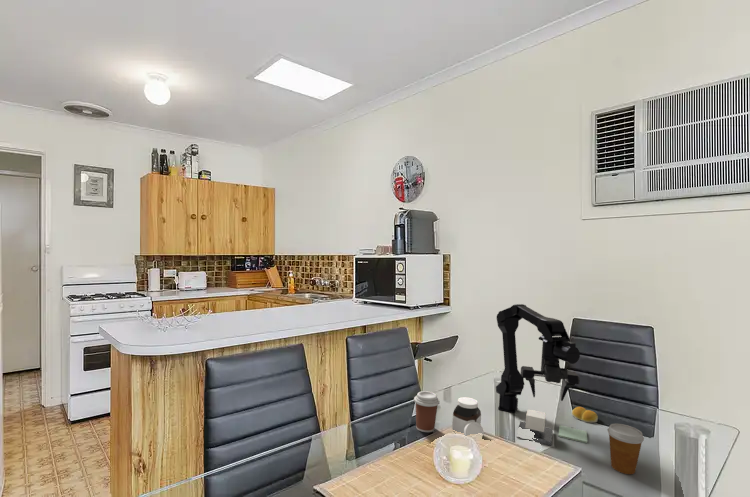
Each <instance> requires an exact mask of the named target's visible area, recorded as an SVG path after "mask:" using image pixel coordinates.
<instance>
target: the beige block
mask: <svg viewBox="0 0 750 497" xmlns="http://www.w3.org/2000/svg"><path fill="white" fill-rule="evenodd" d="M546 416H547V414H546V412H544V411H538V410H535V409H529V408H527V411H526V415H525V423H526V426H525V428H528V429H532V430H536V431H541V432H544V429H545V427H546V420H547V419H546Z"/></svg>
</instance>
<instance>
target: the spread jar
mask: <svg viewBox="0 0 750 497" xmlns="http://www.w3.org/2000/svg"><path fill="white" fill-rule="evenodd" d="M478 406H479V401H478V400H476V399H474V398H472V397H465V396H463V397H459V398H457V405H456V406H455V408H454V410H453V413H452V421H451V422H452V423H451V427H452V428H451V430H452V431H453V430H455V431H457V432H461V433H464V435H465V436H467V435H470V434H478V433H482V434H484V428H483V426H482V425H481V423H482V410H480V407H478Z"/></svg>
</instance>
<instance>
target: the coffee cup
mask: <svg viewBox="0 0 750 497" xmlns="http://www.w3.org/2000/svg"><path fill="white" fill-rule="evenodd" d="M440 401H441V400H440V399H439V397H438V395H437V394H436V393H434V392H433V391H427V390H422V391H419V392H417V395H415V396H414V397H413V402H414V404H415V423H416V424H415V426H416V430H418V432H422V433H432V432H434V431H435V427H436V420H437V412H438V406H439V405H440V404H441V402H440Z"/></svg>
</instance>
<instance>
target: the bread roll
mask: <svg viewBox="0 0 750 497" xmlns="http://www.w3.org/2000/svg"><path fill="white" fill-rule="evenodd" d="M571 415H572V417H573V418H575V419H576V420H578V421H581V422H584V423H587V424H588V423H591V424H592V423H597V422H598V418H599V416H598V414H597V413H596V412H594V411H593V410H589V409H586V408H584V407H582V406H576V407H574V409H572V410H571Z"/></svg>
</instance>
